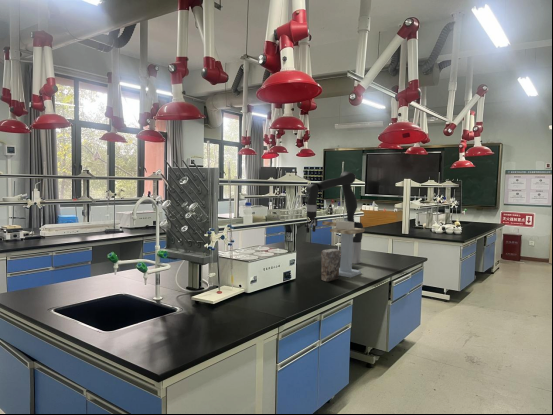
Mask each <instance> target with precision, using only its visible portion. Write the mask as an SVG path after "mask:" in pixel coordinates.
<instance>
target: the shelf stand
mask: <svg viewBox="0 0 553 415" xmlns="http://www.w3.org/2000/svg"><path fill="white" fill-rule="evenodd" d="M365 230H366V229H365V228H363V229H361V228H354V229H351V230H345V229H336V227H335V228H330V229H329V232H330V233H335V234H341V236H340V237H341V238H340V239H341V242H340V252H341V253H340V263H339V276H341V277H347V278H350V279H351V278H353V277H356V276H358V275H361V274H362V270H360V269H359V270H358V269H353V268H352V267H353V263H352V249H353V237H354V235H355V234H356V233H360V232H363V233H364V232H365Z"/></svg>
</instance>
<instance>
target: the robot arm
mask: <svg viewBox="0 0 553 415" xmlns="http://www.w3.org/2000/svg"><path fill="white" fill-rule="evenodd" d="M356 179H357V178H356V175H355V173H353V172H351V171H345V170H344V171H342V172H341V174H340V176H339V177H335V178H329V179H325V180H321V181H319V182H313V183H310V184H308V185H306V188H305V189H306V192H307V193H308V194H309V196H308V197H307V202H306V218H308V217H309V218H310V219H311V221H310V222H307V223H305V222H304V227H305V228H306V229H305V230H306V232H305V233H308V234H309V233H310V227H311V226H312V232H313V233H316V228H317V226H318V218H317V210H318V208H317V202H318V201H317V200H318V196H319V193H320V192H323V191H326V190H329V189H332V188H335V187H339V186H341V187H342V191H343V197H344V204H345V205H344V206H345V210H346V219H347V220H346V221H349V222H354V228H361V229H364V225H363V223H362V222H360V221H355V213H356V211H357V210H358V201H357V200H358V199H357V197H356V194H355V193H354V190H353V188H352V184H353V183H355V181H356ZM319 191H320V192H319ZM315 218H317V219H315ZM363 233H364V232H360V233H356V234H354V235H353V249H352V265H353V264H355V265H356V264H361V259H362V258H361V257H362V256H361V254H362V239H363Z"/></svg>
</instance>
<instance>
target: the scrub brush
mask: <svg viewBox="0 0 553 415" xmlns="http://www.w3.org/2000/svg"><path fill="white" fill-rule="evenodd" d="M354 222H355V221H354ZM354 222H349V221H347V220H337V221H335V222H334V221H326V220H324V221H322V223H321V224H322V226H331V227H335V228H336V229H345V230H351V229H354Z"/></svg>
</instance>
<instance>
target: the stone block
mask: <svg viewBox="0 0 553 415" xmlns="http://www.w3.org/2000/svg"><path fill="white" fill-rule="evenodd" d="M320 254H321V255H320V260H321V269H320V271H321V272H320V273H321V280H322V281H324V282H331V281H335V280H338V279H339V276H340V275H339V268H340V260H341V249H340V250H339V249H336V248H329V249H323V250H322V251H321V252H320Z"/></svg>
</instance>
